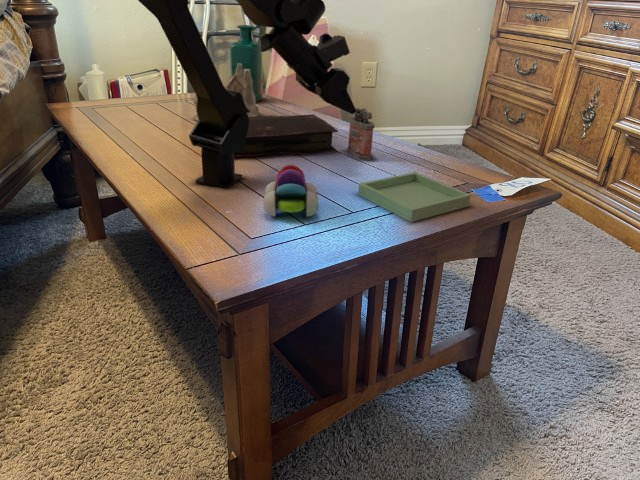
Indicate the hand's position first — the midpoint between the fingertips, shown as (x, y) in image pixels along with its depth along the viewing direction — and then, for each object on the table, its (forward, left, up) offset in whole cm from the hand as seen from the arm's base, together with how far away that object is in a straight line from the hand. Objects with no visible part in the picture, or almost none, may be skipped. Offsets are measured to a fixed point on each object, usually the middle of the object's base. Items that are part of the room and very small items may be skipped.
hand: (346, 107), depth 107 cm
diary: (+1, +17, -11) cm, 20 cm away
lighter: (+2, -3, -11) cm, 11 cm away
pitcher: (+45, +43, -11) cm, 63 cm away
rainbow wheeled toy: (-33, 0, -11) cm, 35 cm away
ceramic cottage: (+21, +38, -11) cm, 45 cm away
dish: (-21, -18, -10) cm, 29 cm away
